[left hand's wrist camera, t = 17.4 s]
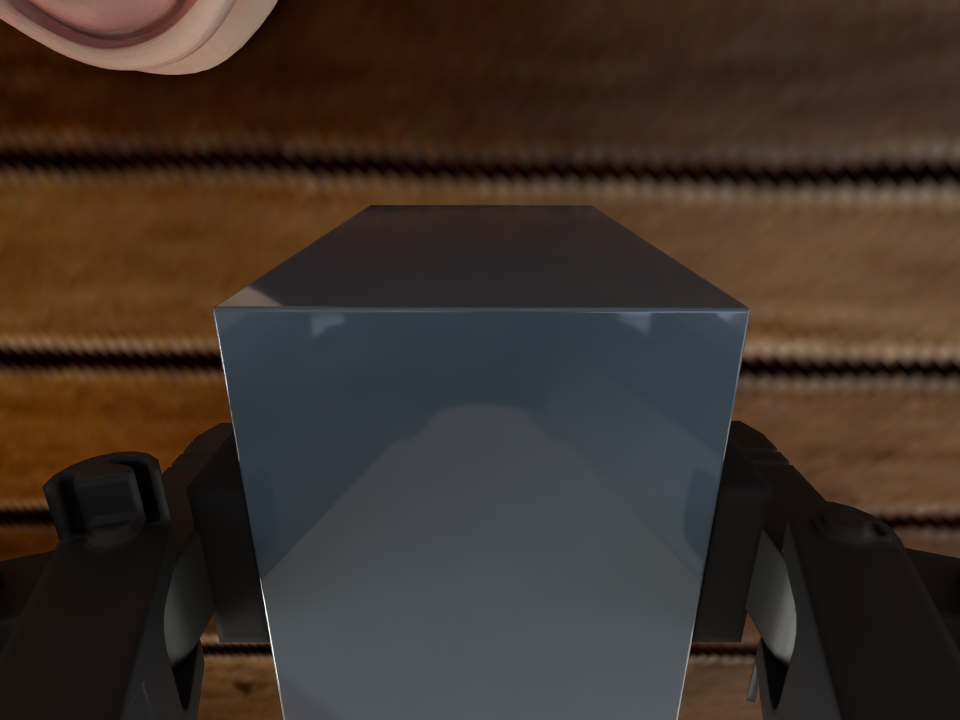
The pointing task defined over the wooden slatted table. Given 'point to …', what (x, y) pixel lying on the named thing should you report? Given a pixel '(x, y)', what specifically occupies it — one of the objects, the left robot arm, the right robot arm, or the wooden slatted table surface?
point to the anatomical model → (140, 30)
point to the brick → (481, 463)
